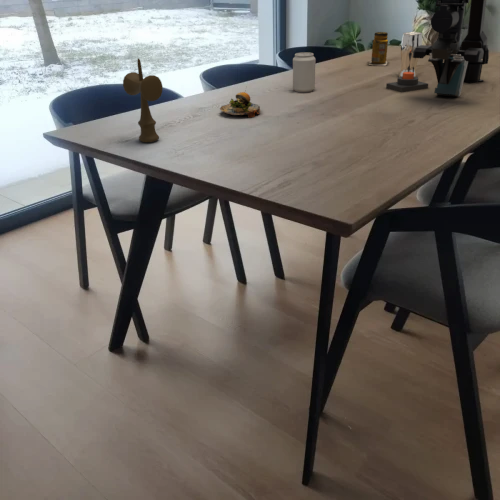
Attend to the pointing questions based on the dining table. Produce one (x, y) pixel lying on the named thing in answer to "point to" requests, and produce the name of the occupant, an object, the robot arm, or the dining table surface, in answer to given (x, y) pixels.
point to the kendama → (144, 100)
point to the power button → (408, 75)
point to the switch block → (406, 85)
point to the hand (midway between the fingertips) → (443, 83)
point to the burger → (241, 106)
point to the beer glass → (409, 51)
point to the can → (304, 72)
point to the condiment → (379, 49)
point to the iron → (456, 81)
